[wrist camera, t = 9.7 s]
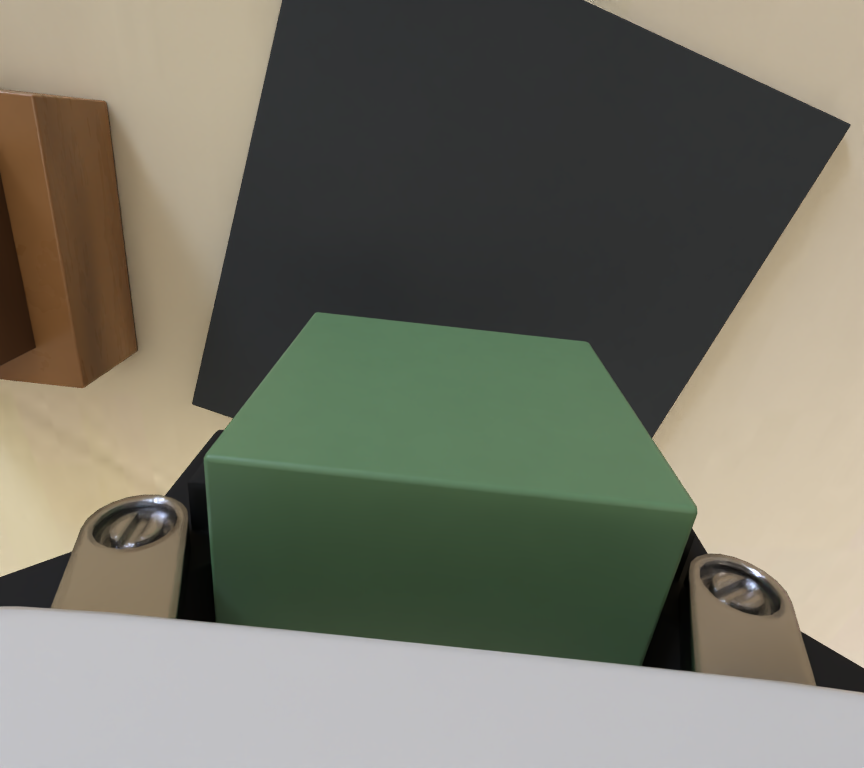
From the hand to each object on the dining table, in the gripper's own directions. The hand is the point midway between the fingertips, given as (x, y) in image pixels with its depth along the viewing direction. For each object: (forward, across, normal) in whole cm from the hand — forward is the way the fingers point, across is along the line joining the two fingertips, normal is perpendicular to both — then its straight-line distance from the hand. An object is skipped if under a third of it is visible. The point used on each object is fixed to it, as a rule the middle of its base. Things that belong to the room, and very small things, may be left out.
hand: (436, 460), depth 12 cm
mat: (+13, -1, -1) cm, 13 cm away
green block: (+1, 0, 0) cm, 1 cm away
